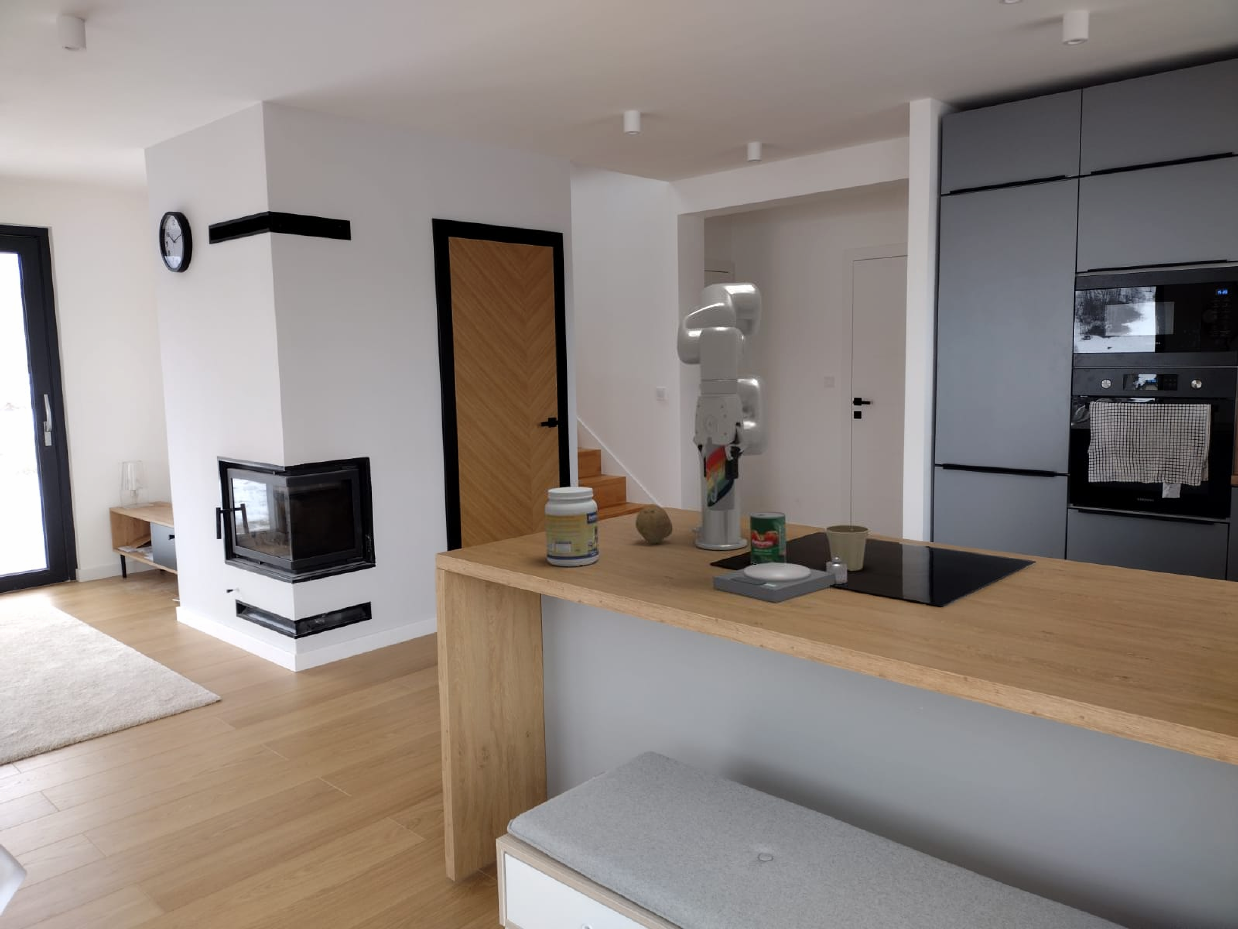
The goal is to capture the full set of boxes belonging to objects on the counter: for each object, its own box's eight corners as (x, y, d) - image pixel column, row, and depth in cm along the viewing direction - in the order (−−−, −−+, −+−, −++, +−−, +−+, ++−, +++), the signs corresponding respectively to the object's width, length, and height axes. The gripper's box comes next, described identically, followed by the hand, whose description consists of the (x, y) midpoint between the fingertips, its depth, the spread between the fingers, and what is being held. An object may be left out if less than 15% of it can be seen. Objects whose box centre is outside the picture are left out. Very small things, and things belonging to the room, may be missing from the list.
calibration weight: (822, 583, 177) (822, 557, 177) (834, 579, 180) (834, 554, 179) (838, 586, 174) (838, 560, 174) (851, 582, 177) (850, 557, 176)
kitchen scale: (713, 588, 176) (712, 572, 175) (772, 572, 187) (771, 558, 187) (775, 602, 164) (775, 586, 163) (834, 585, 175) (834, 569, 175)
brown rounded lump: (631, 541, 226) (629, 503, 225) (663, 538, 229) (662, 500, 228) (642, 548, 218) (641, 508, 216) (676, 544, 220) (675, 505, 219)
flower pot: (859, 575, 183) (859, 534, 182) (817, 570, 188) (817, 530, 187) (876, 566, 190) (876, 526, 189) (835, 561, 196) (835, 523, 195)
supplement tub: (598, 567, 198) (595, 492, 196) (544, 568, 199) (541, 493, 197) (600, 555, 210) (597, 485, 209) (549, 556, 211) (546, 486, 209)
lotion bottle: (702, 510, 179) (699, 412, 177) (713, 506, 184) (711, 410, 182) (728, 511, 176) (726, 411, 174) (739, 507, 181) (737, 410, 179)
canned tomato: (784, 558, 200) (784, 510, 199) (787, 566, 193) (787, 516, 192) (749, 559, 201) (748, 511, 200) (751, 566, 194) (750, 517, 192)
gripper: (676, 389, 182) (679, 476, 184) (737, 389, 169) (738, 483, 171) (703, 388, 187) (705, 473, 189) (763, 388, 173) (765, 479, 175)
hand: (721, 477), depth 180 cm, fingers closed on lotion bottle, 5 cm apart
